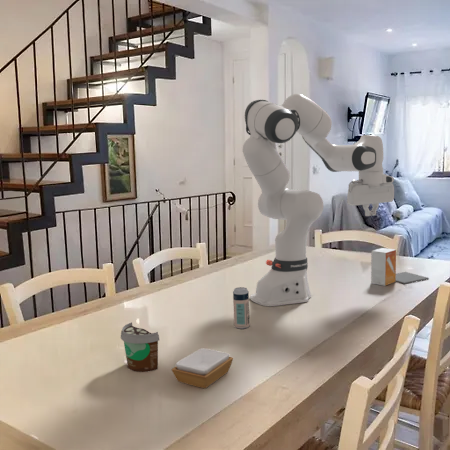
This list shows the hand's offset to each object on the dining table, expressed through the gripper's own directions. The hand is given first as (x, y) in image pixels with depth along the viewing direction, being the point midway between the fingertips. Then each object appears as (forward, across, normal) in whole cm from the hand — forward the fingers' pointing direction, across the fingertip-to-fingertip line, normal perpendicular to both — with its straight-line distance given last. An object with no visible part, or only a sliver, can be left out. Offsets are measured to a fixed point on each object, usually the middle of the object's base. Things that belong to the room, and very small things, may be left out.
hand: (370, 215), depth 195 cm
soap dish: (+28, -88, -40) cm, 101 cm away
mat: (+27, +18, 0) cm, 33 cm away
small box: (+27, +7, 0) cm, 28 cm away
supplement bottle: (+27, -64, -14) cm, 71 cm away
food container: (+27, -101, -26) cm, 108 cm away
